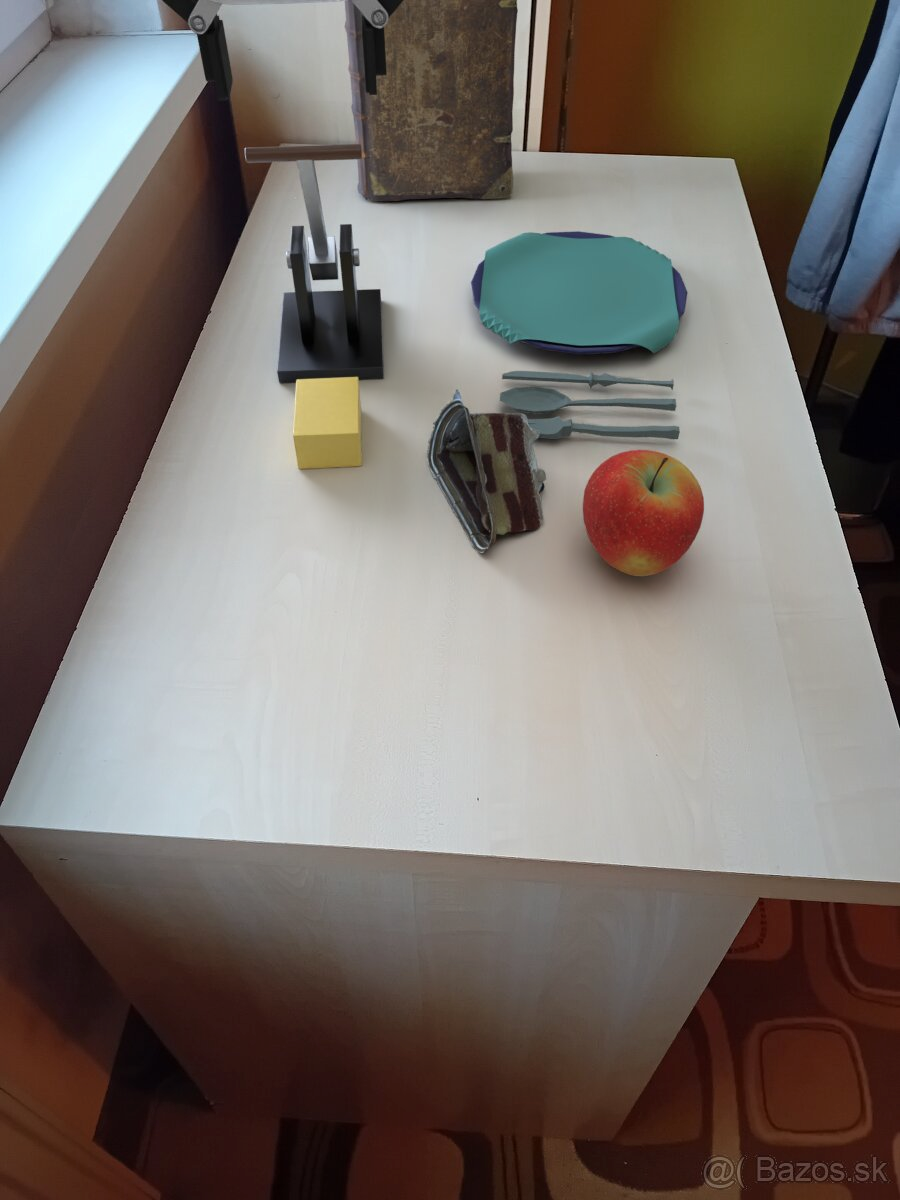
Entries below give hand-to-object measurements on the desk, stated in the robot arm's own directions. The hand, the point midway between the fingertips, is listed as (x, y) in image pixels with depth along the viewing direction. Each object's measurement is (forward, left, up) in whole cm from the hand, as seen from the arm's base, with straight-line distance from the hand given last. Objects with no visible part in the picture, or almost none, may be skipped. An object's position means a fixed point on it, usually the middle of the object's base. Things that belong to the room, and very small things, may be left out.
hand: (298, 88), depth 64 cm
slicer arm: (0, +3, -11) cm, 12 cm away
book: (+11, +34, -25) cm, 43 cm away
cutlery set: (+22, +6, -25) cm, 33 cm away
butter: (0, -7, -24) cm, 25 cm away
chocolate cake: (+13, -14, -25) cm, 31 cm away
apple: (+22, -21, -25) cm, 39 cm away
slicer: (0, +7, -24) cm, 25 cm away
